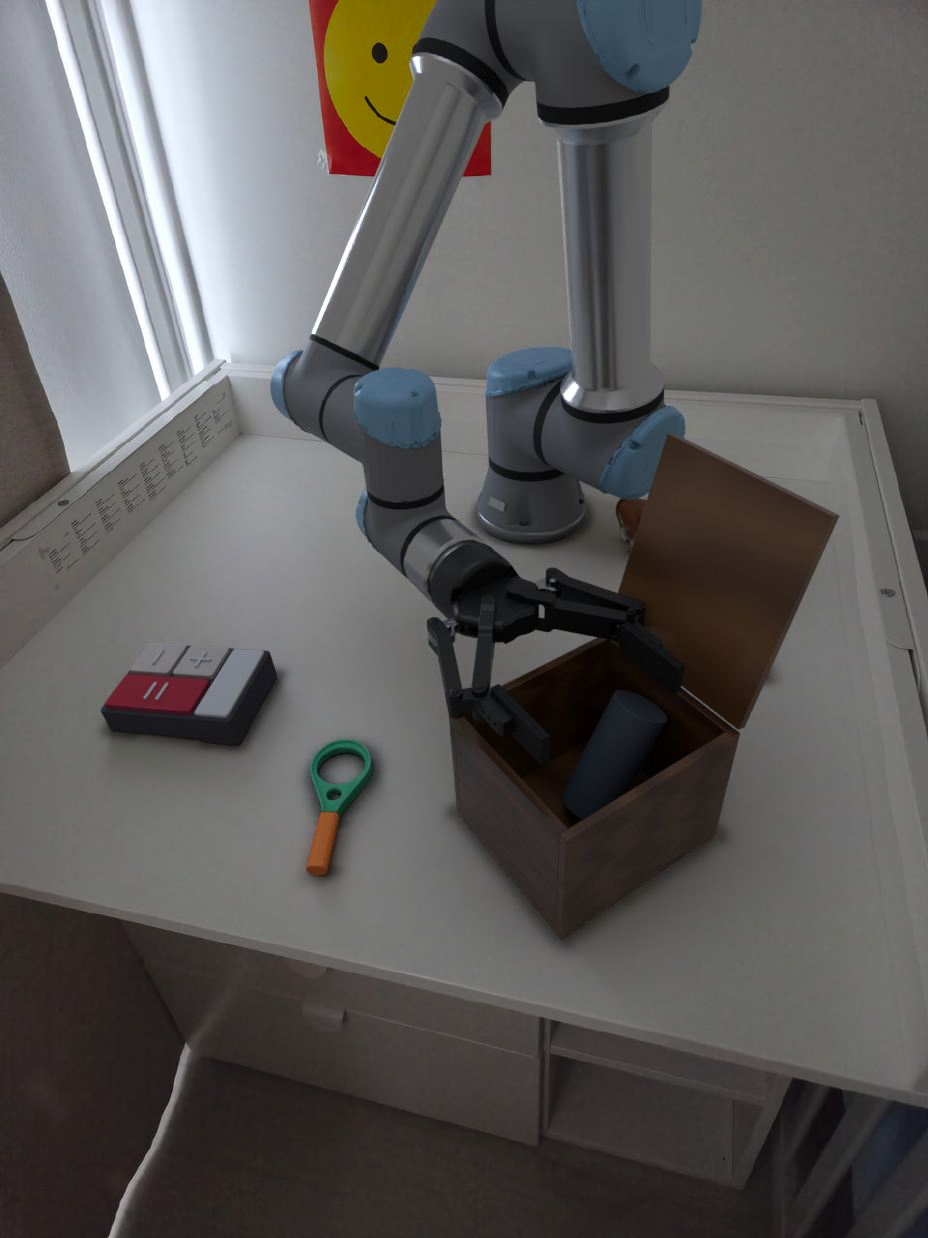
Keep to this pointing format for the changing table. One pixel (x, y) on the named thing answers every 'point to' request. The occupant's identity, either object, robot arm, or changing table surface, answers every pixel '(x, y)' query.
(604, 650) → the chest
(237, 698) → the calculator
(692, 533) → the chest lid
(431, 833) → the changing table surface
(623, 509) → the bull figurine
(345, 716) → the changing table surface
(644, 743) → the canister
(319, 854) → the magnifying glass
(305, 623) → the changing table surface
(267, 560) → the changing table surface
